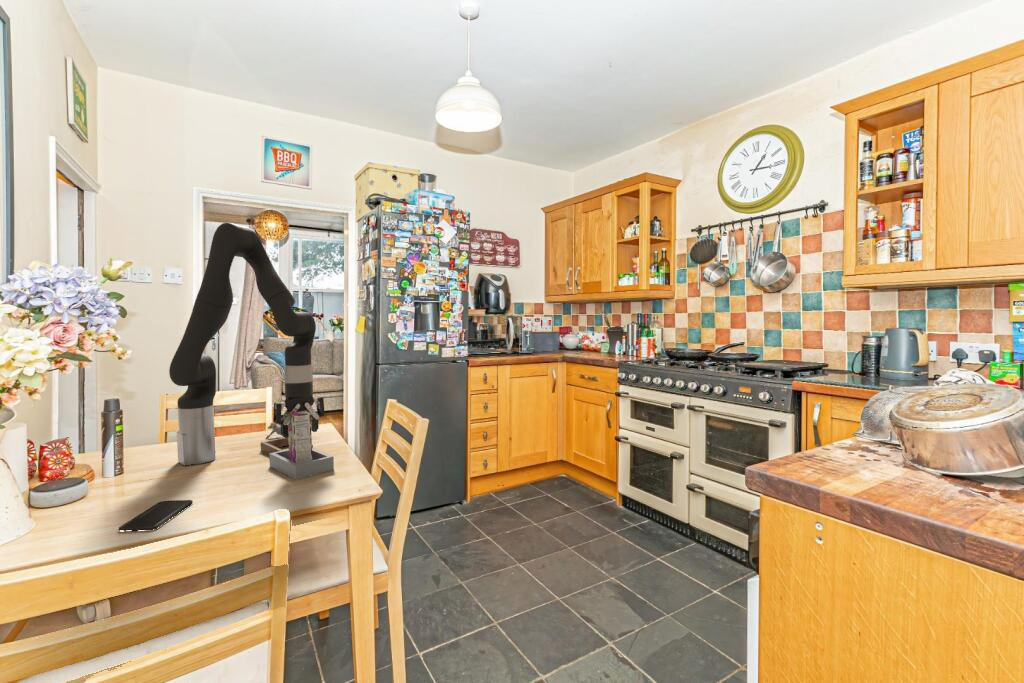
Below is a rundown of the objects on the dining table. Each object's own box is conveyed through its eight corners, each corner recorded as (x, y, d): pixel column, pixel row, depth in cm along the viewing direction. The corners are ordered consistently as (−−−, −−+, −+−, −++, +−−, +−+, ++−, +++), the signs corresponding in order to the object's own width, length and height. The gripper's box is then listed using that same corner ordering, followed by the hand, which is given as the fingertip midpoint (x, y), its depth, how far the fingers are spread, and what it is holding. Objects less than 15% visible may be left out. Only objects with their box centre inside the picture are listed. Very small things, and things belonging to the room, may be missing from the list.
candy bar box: (288, 461, 146) (286, 407, 145) (305, 458, 149) (303, 406, 148) (294, 471, 137) (292, 414, 136) (313, 468, 140) (311, 412, 139)
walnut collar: (281, 461, 149) (281, 451, 149) (260, 451, 160) (260, 442, 160) (313, 453, 157) (312, 444, 157) (291, 444, 167) (290, 436, 167)
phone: (194, 499, 118) (155, 527, 103) (194, 504, 118) (155, 532, 103) (160, 501, 117) (115, 528, 102) (160, 505, 117) (115, 534, 102)
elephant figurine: (274, 443, 170) (258, 431, 173) (281, 451, 174) (265, 439, 178) (296, 421, 175) (279, 411, 178) (302, 430, 180) (286, 419, 183)
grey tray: (295, 480, 133) (295, 465, 133) (269, 466, 144) (269, 453, 144) (333, 469, 141) (333, 456, 141) (306, 457, 153) (305, 445, 152)
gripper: (316, 376, 149) (317, 427, 150) (268, 381, 138) (269, 436, 139) (328, 378, 144) (329, 432, 145) (279, 384, 133) (281, 441, 134)
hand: (300, 434), depth 142 cm, fingers open, 8 cm apart
